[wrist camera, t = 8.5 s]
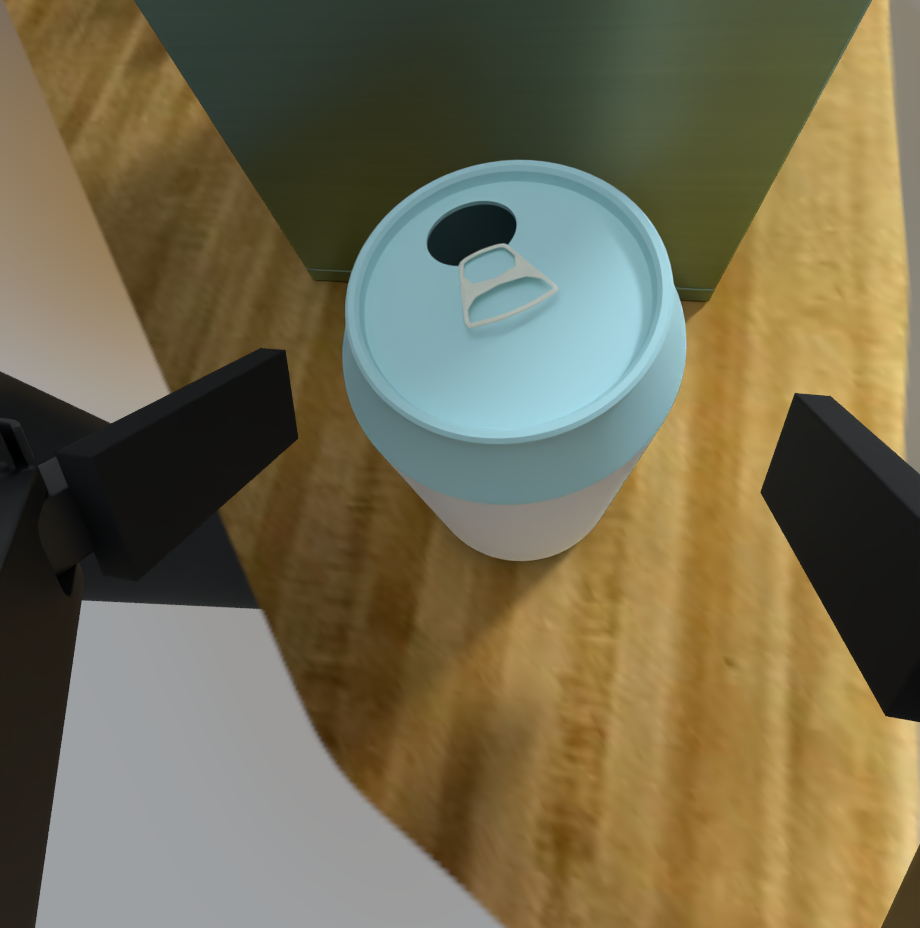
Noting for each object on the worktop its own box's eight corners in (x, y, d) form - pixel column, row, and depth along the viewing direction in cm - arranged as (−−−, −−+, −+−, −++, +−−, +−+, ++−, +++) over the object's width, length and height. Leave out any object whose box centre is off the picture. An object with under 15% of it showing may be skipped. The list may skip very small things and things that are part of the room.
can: (398, 504, 21) (234, 362, 9) (488, 363, 22) (439, 86, 11) (556, 599, 19) (590, 565, 8) (643, 439, 20) (787, 202, 9)
